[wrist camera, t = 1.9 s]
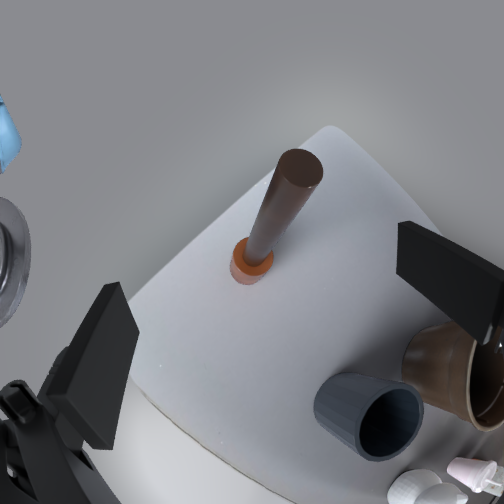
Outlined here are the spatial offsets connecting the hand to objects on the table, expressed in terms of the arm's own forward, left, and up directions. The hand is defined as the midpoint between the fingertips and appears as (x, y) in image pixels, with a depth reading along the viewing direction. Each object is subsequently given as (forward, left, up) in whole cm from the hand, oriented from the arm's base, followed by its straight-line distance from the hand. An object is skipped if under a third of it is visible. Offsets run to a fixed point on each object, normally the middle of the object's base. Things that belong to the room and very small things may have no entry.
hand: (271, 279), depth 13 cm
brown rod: (+1, +6, -24) cm, 25 cm away
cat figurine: (+32, -29, -24) cm, 50 cm away
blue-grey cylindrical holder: (+16, -11, -24) cm, 31 cm away
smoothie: (+44, -28, -24) cm, 58 cm away
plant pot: (+31, -6, -24) cm, 40 cm away
